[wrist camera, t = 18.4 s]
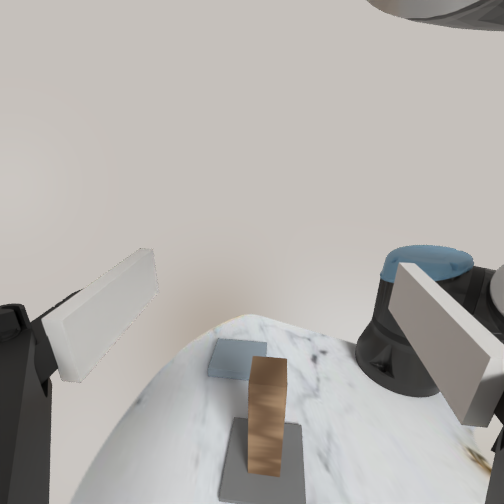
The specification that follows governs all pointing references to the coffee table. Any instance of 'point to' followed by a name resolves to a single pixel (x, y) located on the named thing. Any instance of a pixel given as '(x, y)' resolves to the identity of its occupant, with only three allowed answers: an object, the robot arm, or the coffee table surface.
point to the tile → (235, 358)
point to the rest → (262, 486)
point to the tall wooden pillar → (266, 414)
